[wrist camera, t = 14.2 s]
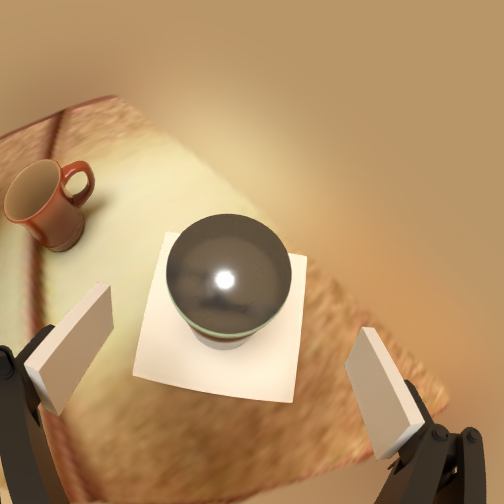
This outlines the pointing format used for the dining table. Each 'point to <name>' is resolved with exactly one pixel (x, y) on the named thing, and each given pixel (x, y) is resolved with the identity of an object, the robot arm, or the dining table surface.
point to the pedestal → (221, 361)
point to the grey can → (228, 278)
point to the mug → (49, 202)
